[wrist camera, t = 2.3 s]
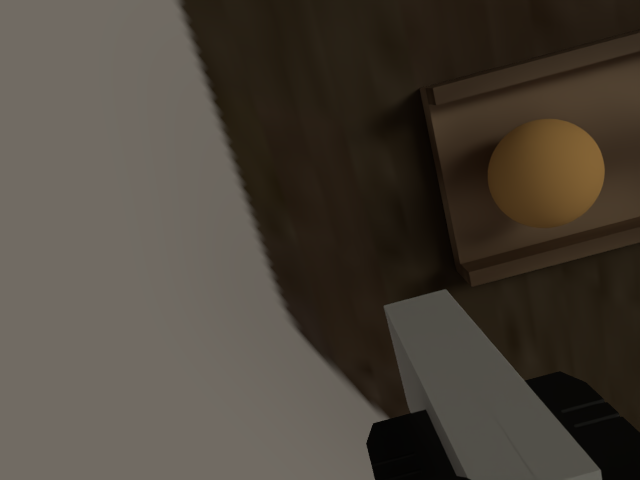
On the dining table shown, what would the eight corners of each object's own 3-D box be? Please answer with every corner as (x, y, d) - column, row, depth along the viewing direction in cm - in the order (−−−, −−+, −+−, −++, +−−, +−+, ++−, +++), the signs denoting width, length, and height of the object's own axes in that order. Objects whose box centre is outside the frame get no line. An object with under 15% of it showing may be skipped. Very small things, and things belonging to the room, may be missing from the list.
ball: (465, 131, 28) (503, 139, 23) (563, 105, 28) (622, 107, 23) (482, 226, 29) (522, 253, 24) (576, 201, 29) (634, 223, 24)
